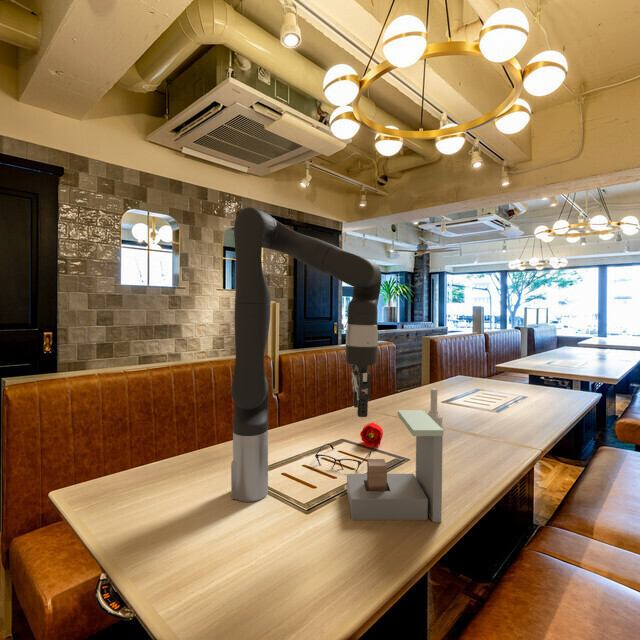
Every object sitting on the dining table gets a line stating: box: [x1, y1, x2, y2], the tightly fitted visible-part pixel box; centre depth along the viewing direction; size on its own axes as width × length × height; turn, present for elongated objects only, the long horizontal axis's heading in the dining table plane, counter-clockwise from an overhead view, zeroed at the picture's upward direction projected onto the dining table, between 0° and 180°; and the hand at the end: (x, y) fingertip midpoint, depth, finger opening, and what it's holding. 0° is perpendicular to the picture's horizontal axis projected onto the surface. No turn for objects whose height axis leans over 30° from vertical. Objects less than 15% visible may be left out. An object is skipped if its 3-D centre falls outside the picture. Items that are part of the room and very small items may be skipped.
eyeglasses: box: [314, 443, 373, 472], centre depth 129 cm, size 16×16×4 cm
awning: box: [397, 409, 444, 523], centre depth 100 cm, size 7×17×22 cm, turn 1°
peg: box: [366, 458, 388, 491], centre depth 100 cm, size 4×4×10 cm
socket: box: [346, 473, 428, 521], centre depth 100 cm, size 18×14×5 cm
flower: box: [359, 422, 384, 448], centre depth 144 cm, size 8×8×8 cm
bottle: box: [426, 387, 443, 429], centre depth 122 cm, size 5×5×25 cm
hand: (359, 411), depth 93 cm, fingers open, 8 cm apart
